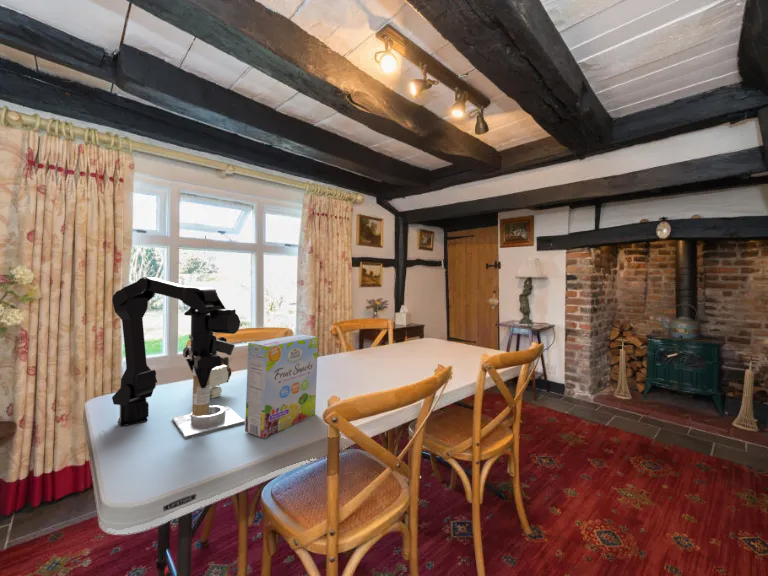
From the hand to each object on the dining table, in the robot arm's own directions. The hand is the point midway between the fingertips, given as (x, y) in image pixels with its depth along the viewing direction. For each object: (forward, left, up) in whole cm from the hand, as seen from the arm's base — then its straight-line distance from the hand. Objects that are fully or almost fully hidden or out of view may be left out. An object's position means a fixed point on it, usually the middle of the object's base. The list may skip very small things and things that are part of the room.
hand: (201, 385), depth 99 cm
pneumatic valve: (+11, +26, -13) cm, 32 cm away
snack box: (+20, -11, -13) cm, 26 cm away
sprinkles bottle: (0, 0, -8) cm, 8 cm away
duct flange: (+3, +4, -13) cm, 14 cm away
